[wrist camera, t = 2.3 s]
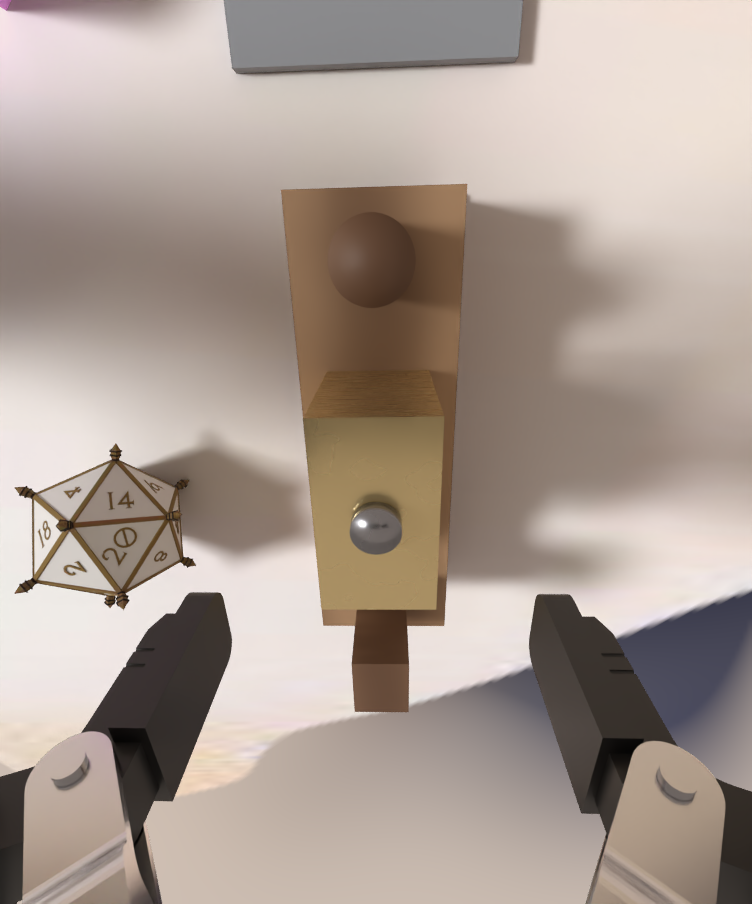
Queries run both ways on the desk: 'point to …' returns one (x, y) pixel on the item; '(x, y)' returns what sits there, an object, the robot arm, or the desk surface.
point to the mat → (370, 33)
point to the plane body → (380, 351)
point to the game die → (105, 530)
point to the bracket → (4, 4)
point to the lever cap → (376, 488)
